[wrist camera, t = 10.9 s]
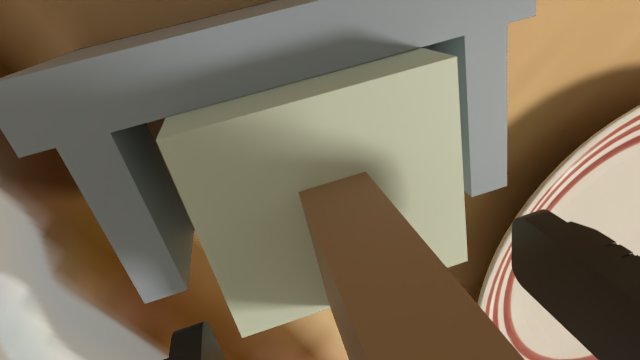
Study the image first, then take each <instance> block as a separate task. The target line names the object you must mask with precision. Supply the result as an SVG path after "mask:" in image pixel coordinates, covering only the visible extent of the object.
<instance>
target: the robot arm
mask: <svg viewBox="0 0 640 360" xmlns="http://www.w3.org/2000/svg"><path fill="white" fill-rule="evenodd" d="M511 264H512V270H513V273H514V275H515V277H516V279H517V281H518V282H519V284H520V285H521V286H522V287H523V288H524V289H525V290H526V291H527V292H528V293H529V294H530V295H531V296H532V297H533V298H534V299H535V300H536V301H537V302H538V303H539V304H540V305H541V306H542V307H543V308H545V309H546V310H547V311H548V312H549V313H550V314H551V315H552V316H553V317H554V318H555V319H556V320H557V321H558V322H559V323H560V324H561V325H562V326H563V327H564V328H565V329H567V330H568V331H569V332H570V333H571V334H572V335H573V336H574V337H575V338H576V339H577V340H578V341H579V342H580V343H581V344H582V345H583V346H584V347H585V348H586V349H587V350H589V351H590V352H591V353H592V354H593V355H594V356H595V357H596V358H597V359H598V360H640V256H638V255H636V256H635V255H634V254H633V252H632V251H630V250H628V249H627V248H625V247H624V246H622V245H617V244H616V242H615V241H614V240H612V239H611V238H609V237H607V236H606V235H604V234H602V233H601V232H599V231H598V230H596V229H593V228H590V227H587V226H584V225H581V224H578V223H575V222H572V221H571V222H566V221H564V220H563V219H561V218H560V217H558V216H557V215H555V214H554V213H552V212H550V211H548V210H546V209H542V210H538V211H535V212H532V213H529V214H526V215H523V216H520V217H517V218H515V219H514V220H513V222H512V257H511ZM164 360H226V358H225V356H224V354H223V352H222V350H221V348H220V346H219V344H218V342H217V340H216V337H215V335H214V333H213V331H212V329H211V327H210V325H209V324H208V323H207V322H206V321H204V322H201V323H198V324H195V325H193V326H190V327H187V328H184V329H181V330H178V331H175V332H174V333H173V335H172V338H171V345H170V353H169V358H167V359H164Z"/></svg>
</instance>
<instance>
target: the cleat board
mask: <svg viewBox="0 0 640 360" xmlns="http://www.w3.org/2000/svg"><path fill="white" fill-rule="evenodd" d="M533 16H536V0H275V1H271V2H267V3H263V4H259V5H255V6H251V7H247V8H243V9H239V10H235V11H231V12H227V13H223V14H219V15H215V16H211V17H207V18H203V19H199V20H195V21H191V22H187V23H183V24H179V25H175V26H171V27H167V28H163V29H159V30H155V31H151V32H147V33H143V34H139V35H135V36H131V37H127V38H123V39H119V40H115V41H111V42H107V43H103V44H99V45H95V46H91V47H87V48H83V49H79V50H76V51H73V52H70V53H67V54H65V55H62V56H59V57H56V58H54V59H51V60H48V61H46V62H43V63H40V64H37V65H35V66H32V67H29V68H26V69H24V70H21V71H18V72H16V73H13V74H10V75H7V76H5V77H2V78H0V129H1V131H2V132H3V134H4V135H5V137H6V139H7V140H8V142H9V143H10V145H11V147H12V148H13V150H14V151H15V153H16V155H17V156H18V158H21V157H24V156H28V155H32V154H35V153H39V152H42V151H46V150H50V149H53V148H56V149H57V151H58V153H59V154H60V156H61V158H62V160H63V161H64V163H65V165H66V167H67V168H68V170H69V172H70V174H71V175H72V177H73V179H74V181H75V182H76V184H77V186H78V188H79V189H80V191H81V193H82V195H83V196H84V198H85V200H86V202H87V203H88V205H89V207H90V209H91V210H92V212H93V214H94V216H95V217H96V219H97V221H98V223H99V224H100V226H101V228H102V230H103V231H104V233H105V235H106V237H107V238H108V240H109V242H110V244H111V245H112V247H113V249H114V251H115V252H116V254H117V256H118V258H119V259H120V261H121V263H122V265H123V266H124V268H125V270H126V272H127V273H128V275H129V277H130V279H131V280H132V282H133V284H134V286H135V287H136V289H137V291H138V293H139V294H140V296H141V298H142V300H143V301H144V303H149V302H152V301H155V300H158V299H161V298H164V297H167V296H170V295H173V294H176V293H179V292H182V291H185V290H188V281H189V271H190V262H191V253H192V243H193V234H194V230H195V229H194V227H193V224H192V222H191V220H190V217H189V215H188V213H187V211H186V208H185V206H184V204H183V201H182V199H181V197H180V195H179V192H178V190H177V188H176V185H175V183H174V181H173V178H172V176H171V174H170V172H169V169H168V167H167V165H166V162H165V160H164V158H163V156H162V153H161V151H160V149H159V146H158V144H157V142H156V139H157V136H158V134H159V132H160V130H161V127H162V125H163V123H164V120H165V118H166V117H170V116H173V115H177V114H181V113H184V112H188V111H192V110H195V109H199V108H202V107H206V106H210V105H213V104H217V103H221V102H224V101H228V100H232V99H235V98H239V97H242V96H246V95H250V94H253V93H257V92H261V91H264V90H268V89H272V88H275V87H279V86H282V85H286V84H290V83H293V82H297V81H301V80H304V79H308V78H312V77H315V76H319V75H322V74H326V73H330V72H333V71H337V70H341V69H344V68H348V67H352V66H355V65H359V64H362V63H366V62H370V61H373V60H377V59H381V58H384V57H388V56H392V55H395V54H399V53H402V52H406V51H410V50H413V49H417V48H425V49H429V50H433V51H437V52H441V53H445V54H449V55H453V56H457V65H458V84H459V103H460V122H461V141H462V160H463V180H464V192H466V193H467V194H468V195H469V196H471V197H475V196H478V195H481V194H484V193H487V192H490V191H493V190H496V189H499V188H502V187H505V186H507V36H508V23H512V22H515V21H519V20H522V19H526V18H530V17H533Z"/></svg>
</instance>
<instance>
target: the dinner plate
mask: <svg viewBox="0 0 640 360" xmlns="http://www.w3.org/2000/svg"><path fill="white" fill-rule="evenodd" d="M542 209H546V210H548V211H550V212H552V213H554V214H555V215H557V216H558V217H560V218H561V219H563V220H564V221H566V222H571V221H572V222H575V223H578V224H581V225H584V226H587V227H590V228H593V229H596V230H598V231H599V232H601V233H602V234H604V235H606V236H607V237H609V238H611V239H612V240H614V241H615V242H616V244H617V245H622V246H624V247H625V248H627V249H628V250H630V251H632V252H633V254H634V255H635V256H636V255H638V256H640V105H639V106H637V107H635V108H634V109H632V110H630V111H629V112H627V113H625V114H624V115H622V116H620V117H619V118H617V119H615V120H614V121H612V122H611V123H609V124H608V125H607V126H605V127H604V128H602V129H601V130H599V131H598V132H597V133H595V134H594V135H593V136H591V137H590V138H589V139H588V140H586V141H585V142H584V143H583V144H581V145H580V146H579V147H578V148H577V149H576V150H575V151H573V152H572V153H571V154H570V155H569V156H568V157H567V158H566V159H565V160H563V161H562V162H561V163H560V164H559V165H558V166H557V167H556V168H555V169H554V171H553V172H552V173H551V174H550V175H549V176H548V177H547V178H546V179H545V180H544V181H543V182H542V183H541V184H540V186H539V187H538V188H537V189H536V190H535V192H534V193H533V194H532V195H531V196H530V198H529V199H528V200H527V202H526V203H525V204H524V206H523V207H522V209H521V210H520V211H519V213H518V214H517V215H516V217H515V218H517V217H520V216H523V215H526V214H529V213H532V212H535V211H538V210H542ZM511 257H512V223H511V225H510V227H509V228H508V230H507V232H506V233H505V235H504V236H503V238H502V240H501V242H500V244H499V246H498V248H497V250H496V252H495V254H494V256H493V258H492V261H491V263H490V265H489V268H488V270H487V273H486V275H485V279H484V282H483V285H482V288H481V291H480V295H479V299H478V303H477V304H478V305H479V306H480V307H481V309H482V310H483V311H484V312H485V313H486V315H487V316H488V317H489V318H490V319H491V320H492V322H493V323H494V324H495V325H496V326H497V328H498V329H499V330H500V331H501V332H502V333H503V335H504V336H505V337H506V338H507V339H508V341H509V342H510V343H511V344H512V345H513V346H514V348H515V349H516V350H517V351H518V352H519V354H520V355H521V356H522V357H523V358H524V360H598V359H597V358H596V357H595V356H594V355H593V354H592V353H591V352H590V351H589V350H587V349H586V348H585V347H584V346H583V345H582V344H581V343H580V342H579V341H578V340H577V339H576V338H575V337H574V336H573V335H572V334H571V333H570V332H569V331H568V330H567V329H565V328H564V327H563V326H562V325H561V324H560V323H559V322H558V321H557V320H556V319H555V318H554V317H553V316H552V315H551V314H550V313H549V312H548V311H547V310H546V309H545V308H543V307H542V306H541V305H540V304H539V303H538V302H537V301H536V300H535V299H534V298H533V297H532V296H531V295H530V294H529V293H528V292H527V291H526V290H525V289H524V288H523V287H522V286H521V285H520V284H519V282H518V281H517V279H516V277H515V275H514V273H513V270H512V264H511Z"/></svg>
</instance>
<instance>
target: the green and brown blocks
mask: <svg viewBox="0 0 640 360" xmlns="http://www.w3.org/2000/svg"><path fill="white" fill-rule="evenodd" d="M156 142H157V144H158V146H159V149H160V151H161V153H162V156H163V158H164V160H165V162H166V165H167V167H168V169H169V172H170V174H171V176H172V178H173V181H174V183H175V185H176V188H177V190H178V192H179V195H180V197H181V199H182V201H183V204H184V206H185V208H186V211H187V213H188V215H189V217H190V220H191V222H192V224H193V227H194V229H195V231H196V233H197V236H198V238H199V240H200V243H201V245H202V247H203V249H204V252H205V254H206V256H207V259H208V261H209V263H210V265H211V268H212V270H213V272H214V275H215V277H216V279H217V281H218V284H219V286H220V288H221V291H222V293H223V295H224V297H225V300H226V302H227V304H228V307H229V309H230V311H231V313H232V316H233V318H234V320H235V323H236V325H237V327H238V329H239V332H240V334H241V336H242V338H244V337H247V336H250V335H253V334H255V333H258V332H261V331H264V330H267V329H270V328H273V327H276V326H279V325H282V324H285V323H288V322H291V321H293V320H296V319H299V318H302V317H305V316H308V315H311V314H314V313H317V312H320V311H323V310H326V309H329V308H331V310H332V313H333V316H334V319H335V322H336V324H337V327H338V330H339V333H340V335H341V338H342V341H343V344H344V347H345V349H346V352H347V355H348V358H349V360H524V358H523V357H522V356H521V355H520V354H519V352H518V351H517V350H516V349H515V348H514V346H513V345H512V344H511V343H510V342H509V341H508V339H507V338H506V337H505V336H504V335H503V333H502V332H501V331H500V330H499V329H498V328H497V326H496V325H495V324H494V323H493V322H492V320H491V319H490V318H489V317H488V316H487V315H486V313H485V312H484V311H483V310H482V309H481V307H480V306H479V305H478V304H477V303H476V302H475V300H474V299H473V298H472V297H471V296H470V294H469V293H468V292H467V291H466V290H465V289H464V287H463V286H462V285H461V284H460V283H459V281H458V280H457V279H456V278H455V277H454V276H453V274H452V273H451V272H450V271H449V270H448V267H451V266H454V265H457V264H460V263H463V262H466V261H468V256H467V237H466V218H465V199H464V180H463V160H462V141H461V122H460V103H459V84H458V65H457V56H453V55H449V54H445V53H441V52H437V51H433V50H429V49H425V48H417V49H413V50H410V51H406V52H402V53H399V54H395V55H392V56H388V57H384V58H381V59H377V60H373V61H370V62H366V63H362V64H359V65H355V66H352V67H348V68H344V69H341V70H337V71H333V72H330V73H326V74H322V75H319V76H315V77H312V78H308V79H304V80H301V81H297V82H293V83H290V84H286V85H282V86H279V87H275V88H272V89H268V90H264V91H261V92H257V93H253V94H250V95H246V96H242V97H239V98H235V99H232V100H228V101H224V102H221V103H217V104H213V105H210V106H206V107H202V108H199V109H195V110H192V111H188V112H184V113H181V114H177V115H173V116H170V117H166V118H165V120H164V123H163V125H162V127H161V130H160V132H159V134H158V136H157V139H156Z"/></svg>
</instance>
